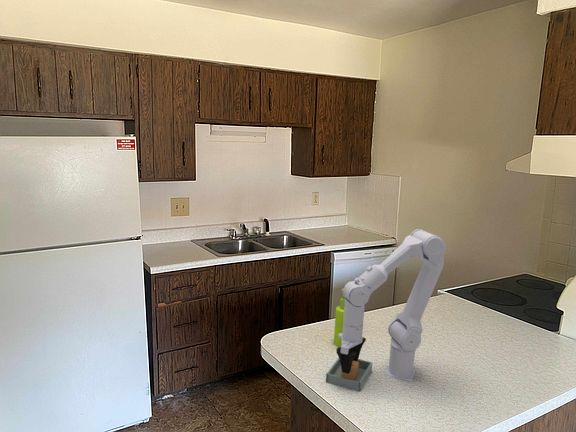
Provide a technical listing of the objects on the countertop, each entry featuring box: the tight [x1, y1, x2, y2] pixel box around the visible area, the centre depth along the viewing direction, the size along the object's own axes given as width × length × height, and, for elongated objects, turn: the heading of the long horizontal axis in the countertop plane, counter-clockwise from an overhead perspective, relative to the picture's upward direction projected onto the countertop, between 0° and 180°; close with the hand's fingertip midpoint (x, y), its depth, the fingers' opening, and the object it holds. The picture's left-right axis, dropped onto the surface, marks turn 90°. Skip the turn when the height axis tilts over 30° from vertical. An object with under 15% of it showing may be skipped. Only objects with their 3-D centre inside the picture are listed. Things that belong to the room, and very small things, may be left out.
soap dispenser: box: [333, 287, 345, 348], centre depth 146 cm, size 6×7×20 cm
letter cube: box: [341, 361, 359, 380], centre depth 127 cm, size 4×4×4 cm
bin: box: [325, 357, 373, 392], centre depth 127 cm, size 13×10×3 cm
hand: (349, 366), depth 127 cm, fingers open, 7 cm apart
